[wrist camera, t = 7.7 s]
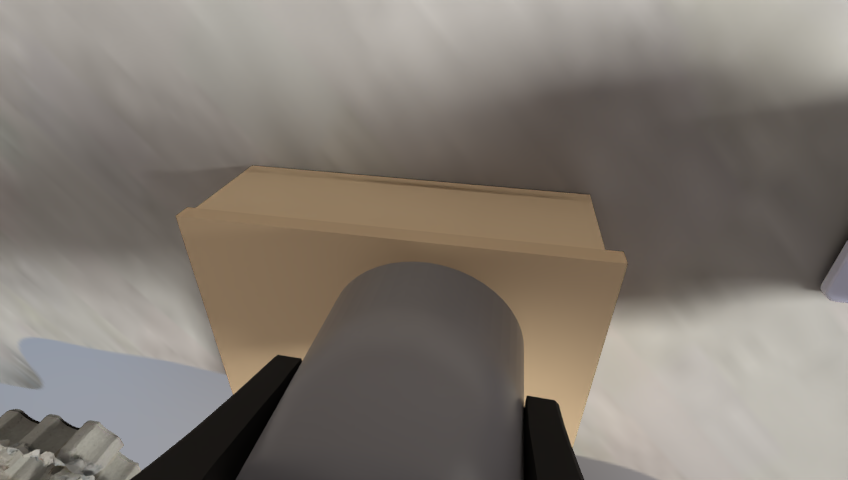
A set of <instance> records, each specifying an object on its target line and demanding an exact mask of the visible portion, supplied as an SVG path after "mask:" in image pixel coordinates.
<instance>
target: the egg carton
mask: <svg viewBox="0 0 848 480" xmlns="http://www.w3.org/2000/svg"><path fill="white" fill-rule="evenodd" d="M123 446H124V444H123V443H122V441H121V439H120V438H119V437H118V436H117V435H115V434H114V433H112V432H111V431H109V430H108V429H106V428H105V427H104V426H103V425H102V424H101V423H100V422H98V421H92V420H89V421H87V422H86V423H85V424H84V425H83V426H82V427H81V428H77V427H75V426H72V425H71V424H69V423H67V422H66V421H64V420H63V419H62V418H61V417H60V416H58V415H53V414H49V415H47V416H46V417H45V418H44V419H43V420H42V421H41V422H39V421H36V420H34V419H32V418H31V417H29V416H28V415H27V414H25V413H24V411H22V410H20V409H12V410H9V411H7V412H6V413H5V414H4V415H2V417H0V480H130V479H131V478H132V477H134V476H135V475H137V474H138V473H139V472H140V471H141V469H140V467H139V464H138V463H136V462H133V460H130V459H128V458H127V457H126V456H124V455H123V454H121V452H120V451H119V450H120V449H121V448H122V447H123Z"/></svg>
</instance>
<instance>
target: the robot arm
mask: <svg viewBox="0 0 848 480" xmlns="http://www.w3.org/2000/svg"><path fill="white" fill-rule="evenodd" d="M821 291H822V293H823V294H824V295H825V296H826V297H827V298H828V299H829V300H832V301H835V302H843V303H848V240H847V242H846V244H845V245H844V247H843V249H842V250H841V252H840V254H839V256H838V257H837V259H836V261H835V262H834V264H833V266H832V267H831V269H830V271H829V272H828V274H827V276H826V277H825V279H824V281H823V282H822V285H821ZM301 363H302V359H301V358H295V357H289V356H283V355H277V356H275V357H274V358H273V359H272V360H271V361H270V362H268V363H267V364H266V365H265V366H264V367H263V368H262V369H261V370H260V371H259V372H258V373H256V374H255V375H254V376H253V377H252V378H251V379H250V380H249V381H248V382H247V383H246V384H245V385H243V386H242V387H241V388H240V389H239V390H238V391H237V392H236V393H235V394H233V395H232V396H231V397H230V398H229V399H228V400H227V401H226V402H225V403H223V404H222V405H221V406H220V407H219V408H218V409H216V411H214V412H213V413H212V414H211V415H210V416H208V417H207V418H206V419H205V420H204V421H203V422H202V423H200V424H199V425H198V426H197V427H196V428H195V429H193V430H192V431H191V432H190V433H189V434H187V435H186V436H185V437H184V438H182V439H181V440H180V441H179V442H177V443H176V444H175V445H174V446H172V447H171V448H170V449H169V450H167V451H166V452H165V453H164V454H162V455H161V456H160V457H159V458H157V459H156V460H155V461H154V462H152V463H151V464H150V465H149V466H147V467H146V468H145V469H143V470H142V471H140V472H139V473H138V474H137V475H135V476H134V477H132V478H131V479H130V480H236V478H237V476H238V475H239V473H240V471H241V469H242V468H243V466H244V464H245V462H246V460H247V459H248V457H249V455H250V453H251V452H252V450H253V448H254V446H255V444H256V443H257V441H258V439H259V437H260V436H261V434H262V432H263V430H264V428H265V427H266V425H267V423H268V421H269V419H270V418H271V416H272V414H273V412H274V411H275V409H276V407H277V405H278V403H279V402H280V400H281V398H282V396H283V395H284V393H285V391H286V389H287V387H288V386H289V384H290V382H291V380H292V379H293V377H294V375H295V373H296V371H297V370H298V368H299V366H300V364H301ZM524 480H584V478H583V475H582V473H581V470H580V468H579V465H578V462H577V460H576V457H575V454H574V451H573V449H572V446H571V443H570V440H569V437H568V434H567V431H566V428H565V425H564V421H563V418H562V415H561V411H560V407H559V404H558V403H557V402H556V401H555V400H551V399H545V398H539V397H533V396H527V397H526V401H525V406H524Z"/></svg>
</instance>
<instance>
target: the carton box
mask: <svg viewBox="0 0 848 480" xmlns="http://www.w3.org/2000/svg"><path fill="white" fill-rule="evenodd" d="M196 208H201V209H210V210H220V211H230V212H240V213H250V214H259V215H269V216H279V217H289V218H298V219H308V220H318V221H328V222H338V223H347V224H357V225H367V226H377V227H386V228H396V229H406V230H416V231H426V232H435V233H445V234H455V235H465V236H475V237H484V238H494V239H504V240H514V241H523V242H533V243H543V244H553V245H563V246H572V247H582V248H592V249H602V250H605V247H604V244H603V240H602V236H601V233H600V229H599V226H598V222H597V218H596V215H595V211H594V208H593V204H592V200H591V197H590V195H586V194H575V193H563V192H552V191H540V190H529V189H517V188H506V187H494V186H483V185H471V184H460V183H448V182H437V181H425V180H414V179H402V178H391V177H379V176H368V175H356V174H345V173H333V172H322V171H310V170H299V169H287V168H276V167H264V166H253V165H252V166H251V167H250V168H248V169H247V170H246V171H244V172H243V173H242V174H240V175H239V176H238V177H236V178H235V179H234V180H232V181H231V182H230V183H228V184H227V185H225V186H224V187H223V188H221V189H220V190H219V191H217V192H216V193H215V194H213V195H212V196H211V197H209V198H208V199H207V200H205V201H204V202H203V203H201V204H200V205H199V206H197V207H196Z"/></svg>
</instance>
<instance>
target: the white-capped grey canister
mask: <svg viewBox="0 0 848 480" xmlns="http://www.w3.org/2000/svg"><path fill="white" fill-rule="evenodd" d="M236 480H524V340H523V336H522V331H521V328H520V326H519V323H518V321H517V319H516V317H515V315H514V314H513V312H512V310H511V309H510V308H509V307H508V305H507V304H506V303H505V302H504V300H503V299H502V298H501V297H500V296H499V295H497V294H496V293H495V292H494V291H493V290H492V289H490V288H489V287H488V286H486V285H485V284H484V283H482V282H480V281H479V280H477V279H475V278H474V277H472V276H470V275H468V274H465V273H463V272H461V271H459V270H456V269H453V268H449V267H446V266H443V265H438V264H433V263H425V262H398V263H390V264H386V265H382V266H378V267H376V268H373V269H371V270H368V271H366V272H364V273H363V274H361V275H359V276H358V277H356V278H355V279H354V280H352V281H351V282H350V283H349V284H348V285H347V286H346V287H345V288H344V289H343V291H342V292H341V294H340V295H339V297H338V299H337V300H336V302H335V304H334V306H333V307H332V309H331V311H330V313H329V314H328V316H327V318H326V320H325V322H324V323H323V325H322V327H321V329H320V330H319V332H318V334H317V336H316V338H315V339H314V341H313V343H312V345H311V347H310V348H309V350H308V352H307V354H306V355H305V357H304V359H303V361H302V363H301V364H300V366H299V368H298V370H297V371H296V373H295V375H294V377H293V379H292V380H291V382H290V384H289V386H288V387H287V389H286V391H285V393H284V395H283V396H282V398H281V400H280V402H279V403H278V405H277V407H276V409H275V411H274V412H273V414H272V416H271V418H270V419H269V421H268V423H267V425H266V427H265V428H264V430H263V432H262V434H261V436H260V437H259V439H258V441H257V443H256V444H255V446H254V448H253V450H252V452H251V453H250V455H249V457H248V459H247V460H246V462H245V464H244V466H243V468H242V469H241V471H240V473H239V475H238V476H237V478H236Z"/></svg>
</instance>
